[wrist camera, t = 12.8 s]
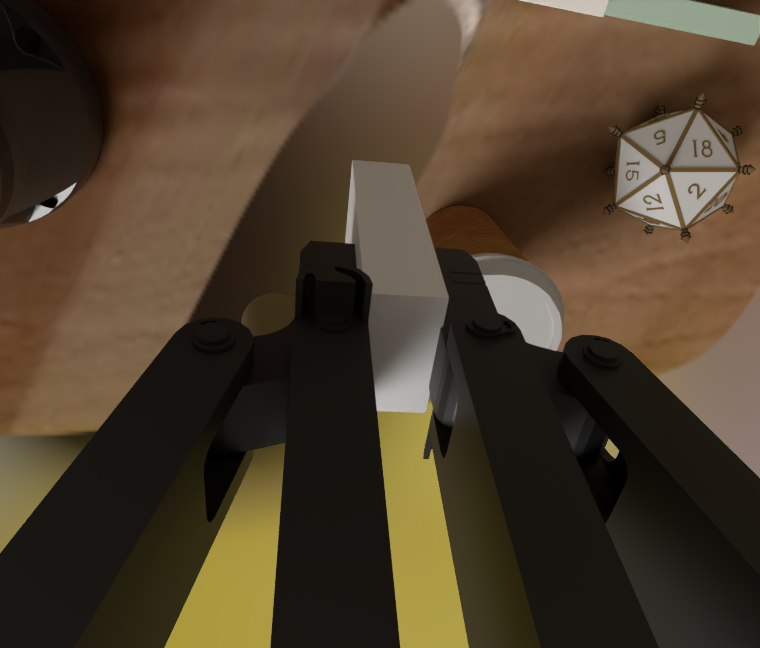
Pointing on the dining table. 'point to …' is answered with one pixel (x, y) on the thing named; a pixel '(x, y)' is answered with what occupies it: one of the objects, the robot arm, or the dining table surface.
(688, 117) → the game die
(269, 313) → the pepper mill
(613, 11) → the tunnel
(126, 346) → the dining table surface
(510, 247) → the disposable coffee cup
